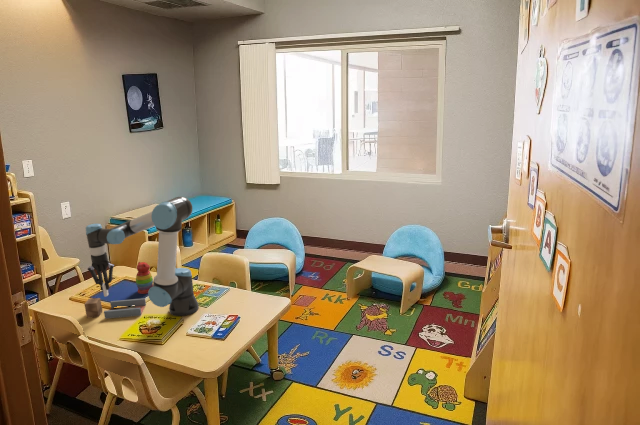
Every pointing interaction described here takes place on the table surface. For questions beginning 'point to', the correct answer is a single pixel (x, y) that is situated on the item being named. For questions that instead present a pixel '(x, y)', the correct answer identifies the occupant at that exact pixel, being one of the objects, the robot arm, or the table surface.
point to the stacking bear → (143, 278)
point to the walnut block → (93, 307)
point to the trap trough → (134, 311)
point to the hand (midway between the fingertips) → (106, 295)
